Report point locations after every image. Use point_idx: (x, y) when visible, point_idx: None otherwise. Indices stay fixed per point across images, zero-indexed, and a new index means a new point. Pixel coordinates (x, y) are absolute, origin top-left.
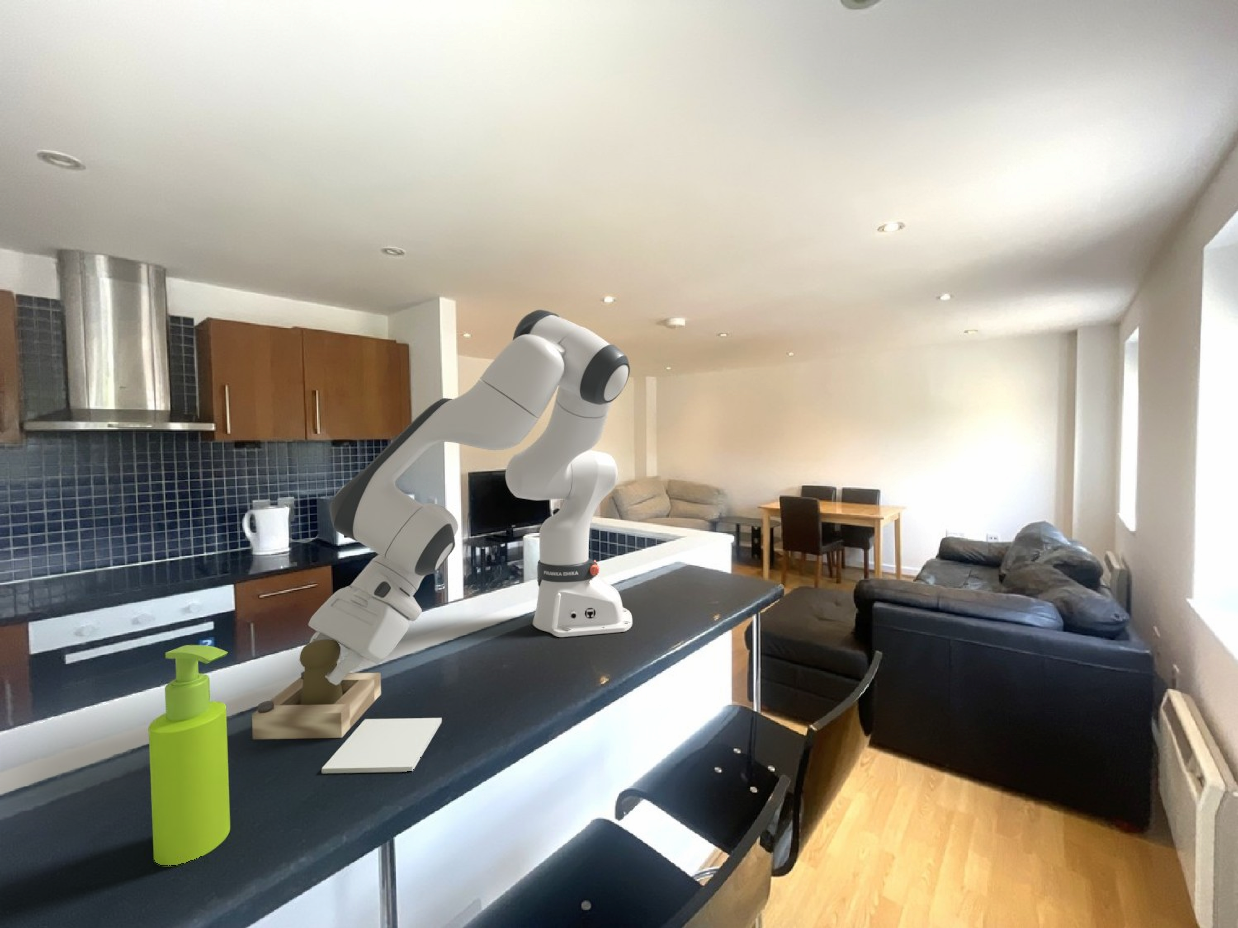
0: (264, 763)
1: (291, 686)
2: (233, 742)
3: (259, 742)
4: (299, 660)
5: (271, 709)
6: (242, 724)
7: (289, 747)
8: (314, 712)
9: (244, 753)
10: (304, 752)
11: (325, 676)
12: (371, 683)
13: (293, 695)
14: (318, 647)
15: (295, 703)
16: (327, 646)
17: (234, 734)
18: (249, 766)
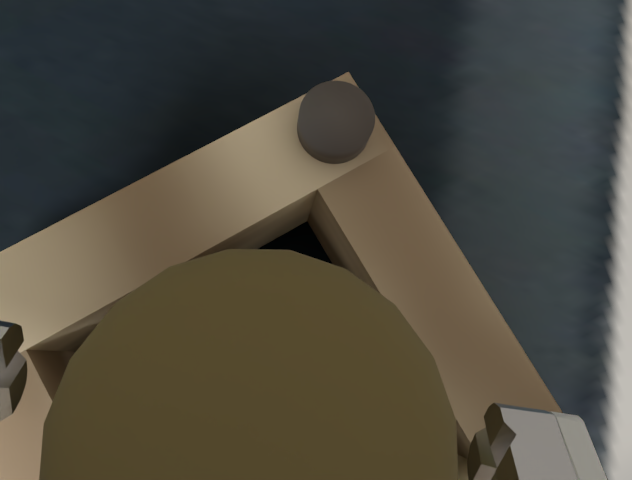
0: (100, 56)
1: (502, 352)
2: (379, 77)
3: None
4: (572, 416)
5: (300, 138)
6: (505, 165)
7: (120, 163)
8: (45, 238)
9: (251, 57)
10: (18, 172)
11: (9, 324)
12: None
13: None
14: (140, 371)
15: None
16: (83, 468)
17: (444, 109)
18: (136, 21)
